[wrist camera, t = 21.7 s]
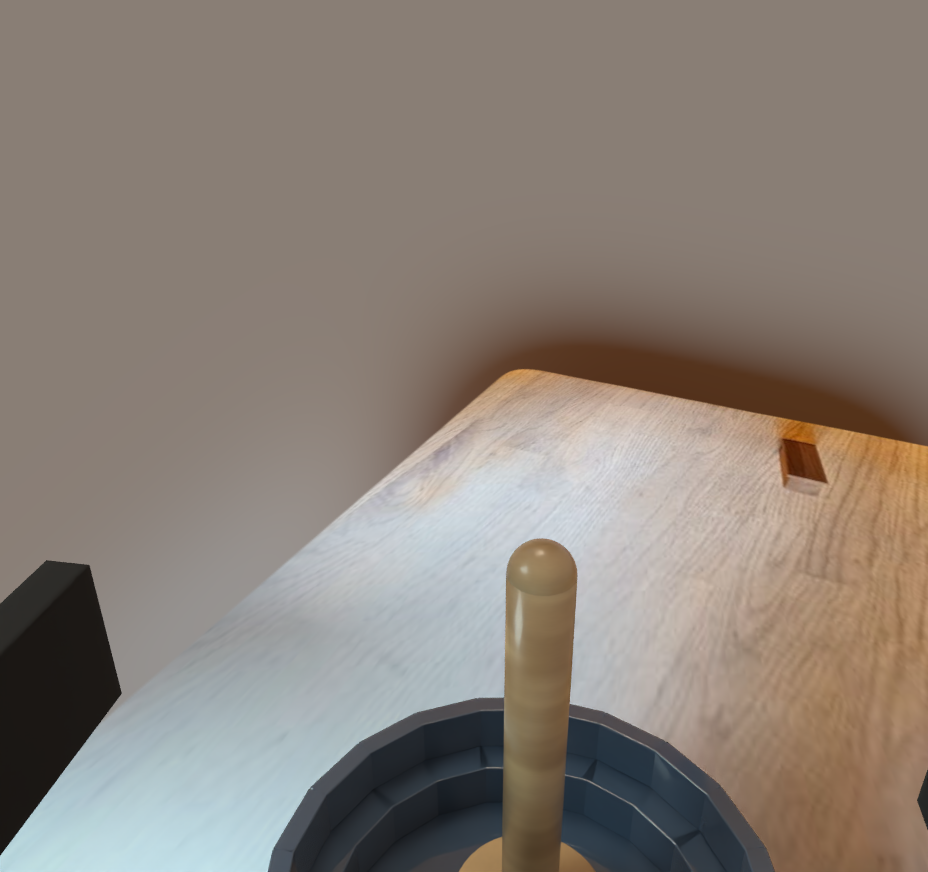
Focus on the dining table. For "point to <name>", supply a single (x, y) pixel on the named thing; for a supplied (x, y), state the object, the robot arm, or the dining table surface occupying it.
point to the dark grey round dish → (481, 800)
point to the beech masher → (535, 714)
